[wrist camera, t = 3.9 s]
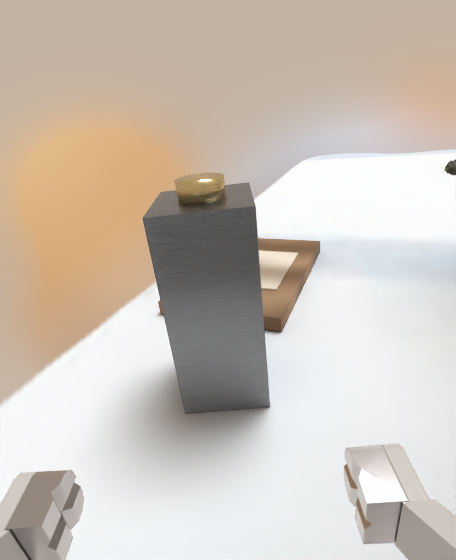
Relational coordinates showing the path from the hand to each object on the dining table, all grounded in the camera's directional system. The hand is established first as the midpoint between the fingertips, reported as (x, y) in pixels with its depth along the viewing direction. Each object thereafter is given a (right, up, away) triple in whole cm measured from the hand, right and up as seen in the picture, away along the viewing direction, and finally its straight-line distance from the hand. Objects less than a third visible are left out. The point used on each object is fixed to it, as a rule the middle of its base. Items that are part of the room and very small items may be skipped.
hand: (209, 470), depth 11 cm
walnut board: (+3, +6, +25) cm, 26 cm away
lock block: (+1, -1, +13) cm, 13 cm away
